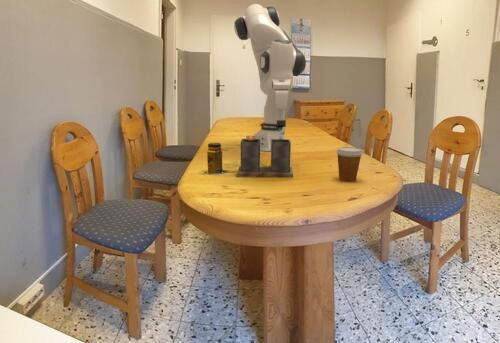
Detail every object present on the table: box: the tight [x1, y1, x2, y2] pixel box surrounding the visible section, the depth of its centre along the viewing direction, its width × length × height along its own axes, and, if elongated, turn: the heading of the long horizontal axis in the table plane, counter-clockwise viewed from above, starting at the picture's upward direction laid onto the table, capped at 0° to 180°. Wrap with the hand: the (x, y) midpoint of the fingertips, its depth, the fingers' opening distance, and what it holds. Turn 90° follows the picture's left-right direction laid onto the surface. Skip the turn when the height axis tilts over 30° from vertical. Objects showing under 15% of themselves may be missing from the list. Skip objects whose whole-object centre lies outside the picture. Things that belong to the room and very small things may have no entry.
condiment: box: [206, 142, 229, 176], centre depth 153 cm, size 7×8×12 cm
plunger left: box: [245, 135, 255, 142], centre depth 150 cm, size 5×5×12 cm
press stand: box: [236, 138, 294, 179], centre depth 150 cm, size 22×12×14 cm, turn 87°
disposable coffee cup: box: [336, 146, 363, 183], centre depth 142 cm, size 10×10×12 cm
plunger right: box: [277, 119, 287, 142], centre depth 148 cm, size 5×5×12 cm
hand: (280, 120), depth 146 cm, fingers closed, pressing on plunger right
